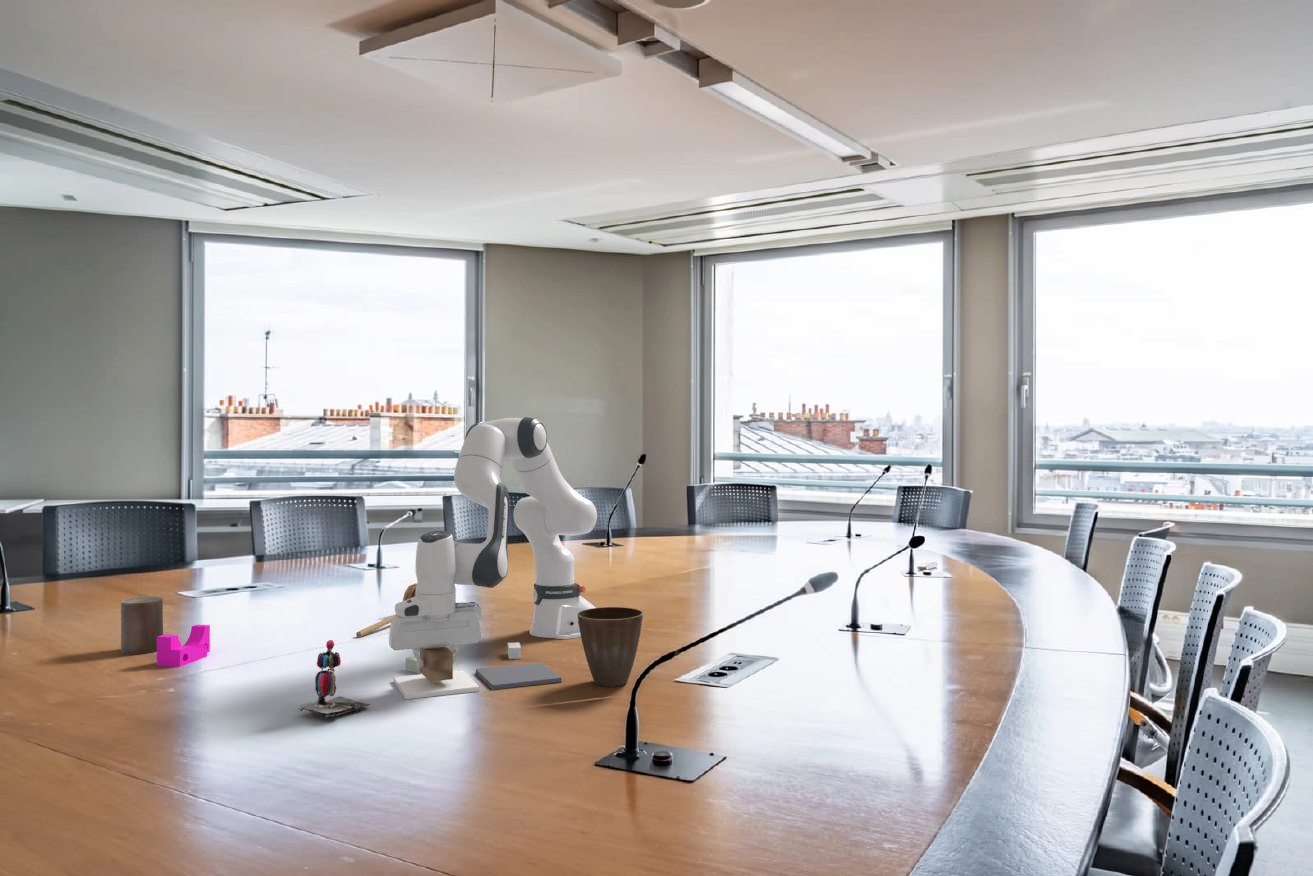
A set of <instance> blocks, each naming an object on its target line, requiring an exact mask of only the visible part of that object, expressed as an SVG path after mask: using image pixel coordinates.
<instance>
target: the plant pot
mask: <svg viewBox="0 0 1313 876" xmlns="http://www.w3.org/2000/svg"><path fill="white" fill-rule="evenodd" d="M577 615H578V622H579V629H580V634H581V637H580V639H581V643H582V646H583V651H584V654H585V658H586V663H587V664H588V668H589V671H590V673H591V676H592V679H593V682H594V684H595V685H597V686H600V687H607V688H608V687H609V688H610V687H613V688H614V687H620V686H625V685H626V684H627V683H628V680H629V678H630V675H631V673H632V670H633V669H632V668H633V667H634V663H635V660H636V655H637V651H638V646H639V642H640V637H641V632H642V631H641V630H642V625H643V616H644V612H643V611H642V610H641V609H637V608H633V607H624V606H623V607H622V606H619V607H618V606H611V607H610V606H607V607H605V606H604V607H596V608H592V609H587V610H583V611H580V612H579V613H578V614H577Z"/></svg>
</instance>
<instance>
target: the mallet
mask: <svg viewBox="0 0 1313 876" xmlns="http://www.w3.org/2000/svg"><path fill="white" fill-rule="evenodd" d="M416 587H417V583H413V584H410V585H409V586H407V588H406V590H405V591H404V593H403V594H404V595H403V598H402V601H405V600H407V599H410V598H413V597H415V596H416ZM395 615H397V614H396V613H395V614H393V615H391V616H389V617H387V618H385V619H383V620H381V621H378V622H376V623H373V624H372V625H369V626H367V627H365V628H362V629H360V630H359V631H357V632H356V634H355V636H356V637H357V638H361V637H363V636H366V635H368V634H371V633H372V632H374V631H377V630H379V629H381V628H382V627H384V626H387V625H388V624H391V621H392V619H393V617H394V616H395Z"/></svg>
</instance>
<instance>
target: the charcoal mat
mask: <svg viewBox="0 0 1313 876" xmlns="http://www.w3.org/2000/svg"><path fill="white" fill-rule="evenodd" d="M475 674H476V675H477V676H478V677H479V678H480V679H481V680H482V681H483V682H484V683H486V685H487V686H488V687H489V688H491V690H493V691H494V690H502V689H510V688H511V689H512V688H519V687H529V686H537V685H538V686H539V685H546V684H547V685H548V684H557V683H558V684H559V683H562V676H560V675H559V674H557V673H556V672H554V670H552V669H550V668H549V667H548V666H546V665H545V664H544V663H542V662H540V661H539V662H531V663H529V662H528V663H519V664H509V665H500V666H491V667H489V666H488V667H480V668H475Z"/></svg>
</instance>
